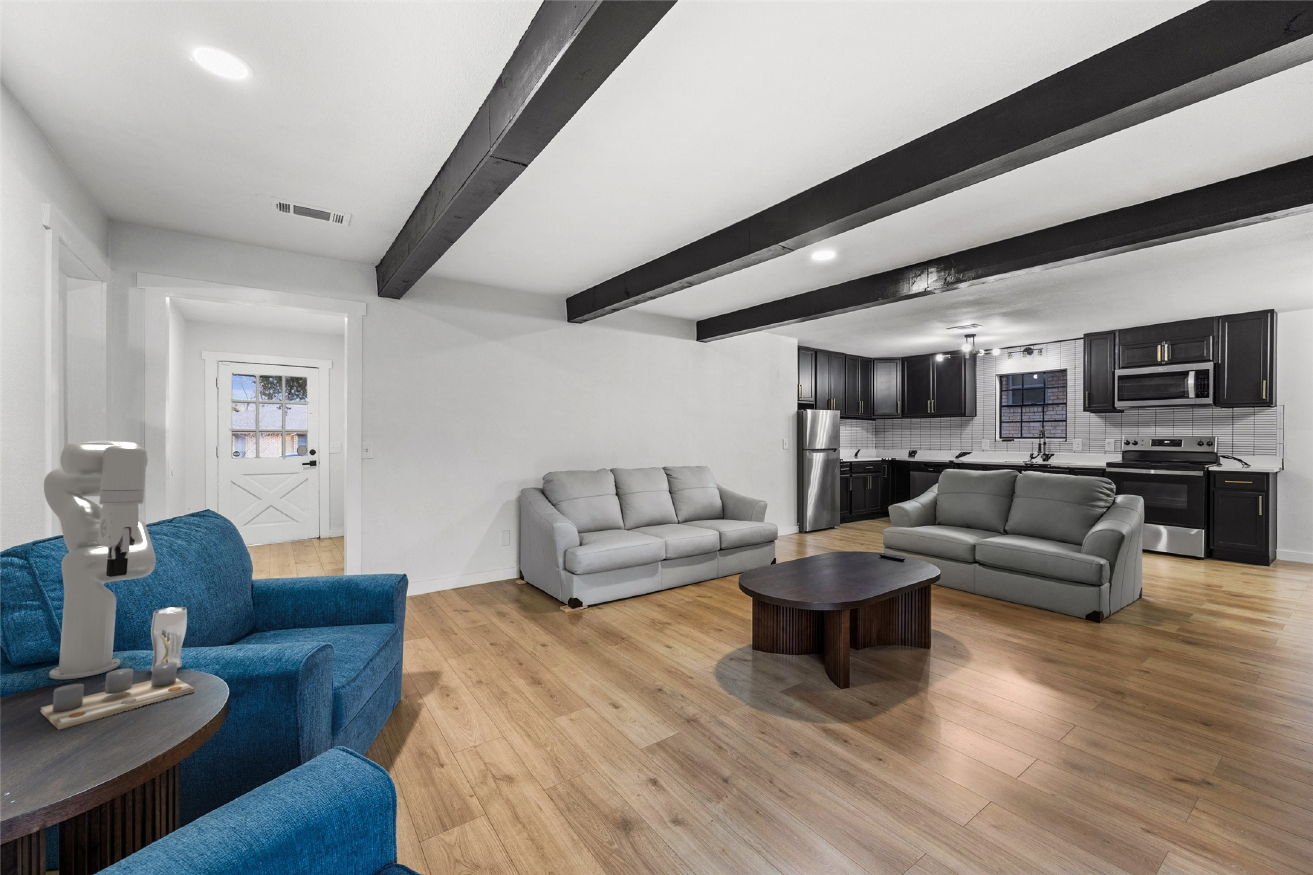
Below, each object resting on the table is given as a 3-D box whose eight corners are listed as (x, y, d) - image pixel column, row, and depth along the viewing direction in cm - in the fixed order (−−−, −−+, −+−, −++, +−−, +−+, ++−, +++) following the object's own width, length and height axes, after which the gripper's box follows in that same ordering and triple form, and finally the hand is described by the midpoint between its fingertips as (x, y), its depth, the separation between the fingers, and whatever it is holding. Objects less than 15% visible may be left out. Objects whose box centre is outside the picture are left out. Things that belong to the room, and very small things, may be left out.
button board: (40, 711, 118) (41, 704, 118) (171, 679, 136) (171, 673, 136) (58, 729, 110) (59, 722, 110) (194, 692, 129) (194, 686, 129)
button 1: (49, 707, 117) (51, 688, 117) (79, 700, 121) (80, 682, 121) (55, 713, 115) (57, 693, 115) (85, 705, 118) (86, 686, 118)
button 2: (148, 683, 130) (149, 666, 131) (171, 677, 134) (173, 661, 134) (155, 687, 128) (156, 670, 128) (178, 681, 132) (180, 664, 132)
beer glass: (162, 674, 139) (166, 614, 140) (141, 671, 140) (145, 612, 141) (190, 664, 146) (194, 607, 147) (170, 662, 147) (173, 605, 148)
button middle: (102, 690, 124) (103, 672, 124) (128, 684, 127) (129, 666, 128) (108, 695, 121) (109, 676, 122) (134, 688, 125) (136, 670, 125)
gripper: (90, 496, 131) (84, 574, 130) (110, 499, 123) (104, 582, 122) (132, 495, 137) (127, 569, 136) (154, 498, 130) (148, 576, 129)
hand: (116, 575), depth 129 cm, fingers closed
